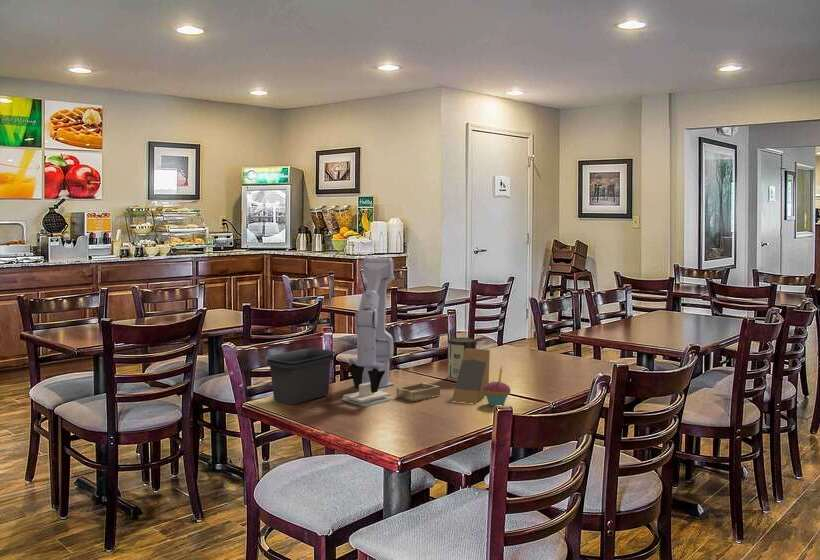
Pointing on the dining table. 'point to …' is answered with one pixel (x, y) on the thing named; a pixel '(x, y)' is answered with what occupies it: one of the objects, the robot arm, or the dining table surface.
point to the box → (418, 391)
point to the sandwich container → (472, 376)
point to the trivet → (367, 401)
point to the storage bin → (300, 374)
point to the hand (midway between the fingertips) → (366, 390)
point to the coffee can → (457, 354)
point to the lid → (366, 394)
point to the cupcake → (496, 391)
